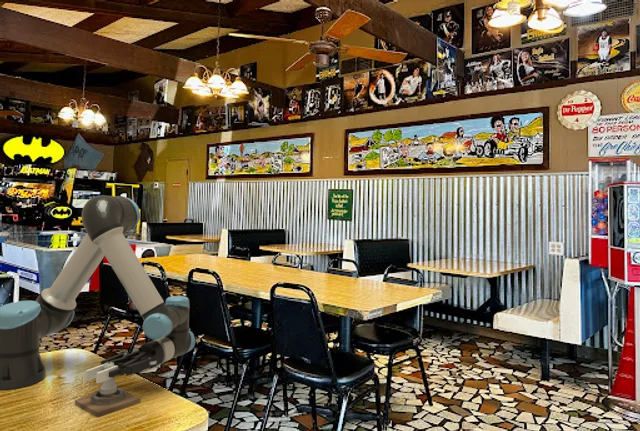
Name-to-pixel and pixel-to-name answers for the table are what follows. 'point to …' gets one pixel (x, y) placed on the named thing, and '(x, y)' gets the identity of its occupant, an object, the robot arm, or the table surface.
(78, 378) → the table surface
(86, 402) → the socket board
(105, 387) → the rook chess piece
